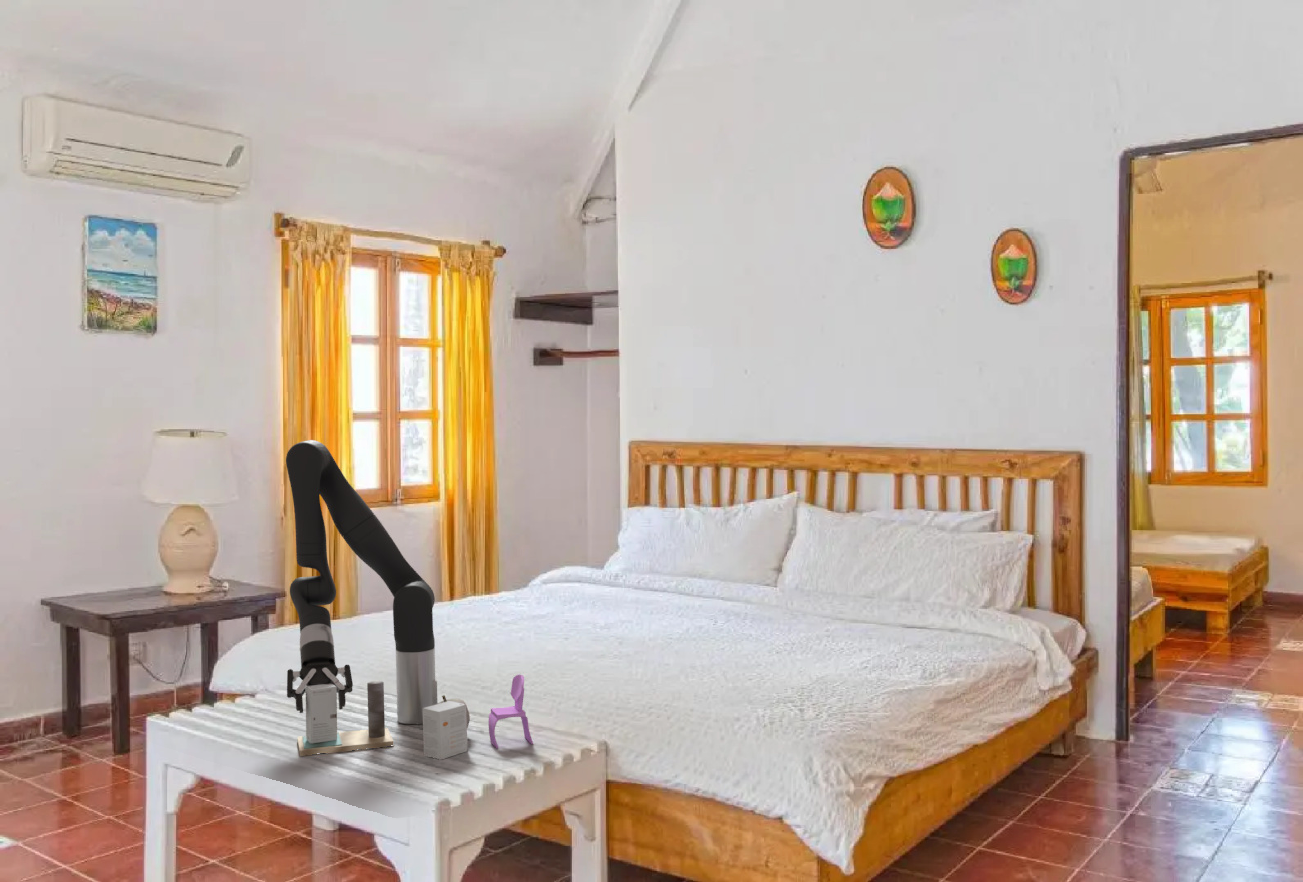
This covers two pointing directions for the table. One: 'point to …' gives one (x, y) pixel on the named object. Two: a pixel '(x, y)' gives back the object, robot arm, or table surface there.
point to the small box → (444, 729)
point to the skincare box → (321, 713)
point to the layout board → (357, 739)
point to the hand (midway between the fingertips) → (321, 709)
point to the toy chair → (511, 710)
